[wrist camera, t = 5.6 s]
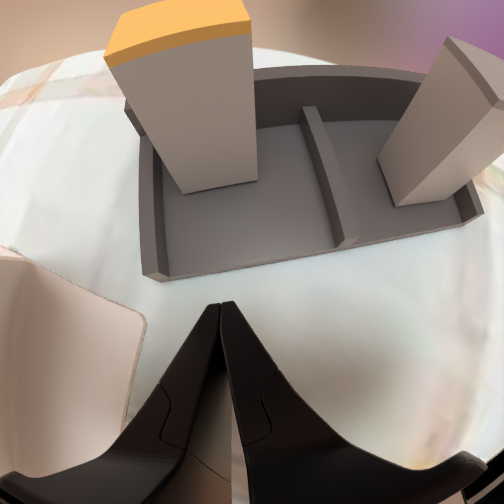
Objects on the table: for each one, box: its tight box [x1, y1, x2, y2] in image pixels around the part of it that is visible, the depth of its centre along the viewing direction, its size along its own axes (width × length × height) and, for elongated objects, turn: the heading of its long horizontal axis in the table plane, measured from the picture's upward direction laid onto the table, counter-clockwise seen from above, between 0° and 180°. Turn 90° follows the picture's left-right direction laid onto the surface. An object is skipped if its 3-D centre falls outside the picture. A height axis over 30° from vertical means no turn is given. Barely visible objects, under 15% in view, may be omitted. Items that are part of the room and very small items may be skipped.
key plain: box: [377, 36, 504, 207], centre depth 12 cm, size 4×5×12 cm
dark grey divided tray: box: [124, 65, 484, 282], centre depth 16 cm, size 11×24×7 cm, turn 100°
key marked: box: [103, 0, 258, 194], centre depth 12 cm, size 4×5×12 cm
